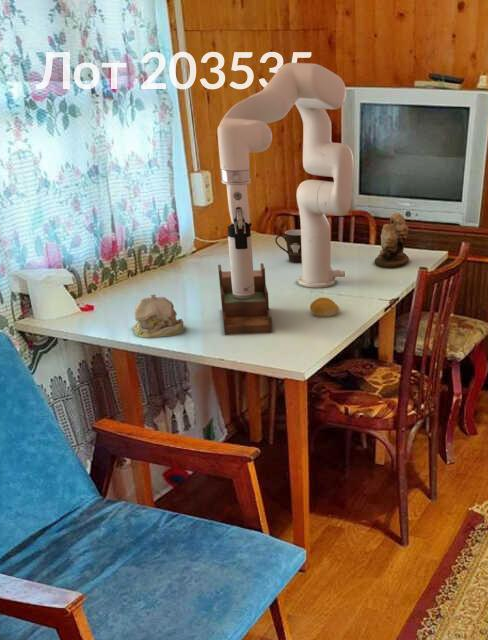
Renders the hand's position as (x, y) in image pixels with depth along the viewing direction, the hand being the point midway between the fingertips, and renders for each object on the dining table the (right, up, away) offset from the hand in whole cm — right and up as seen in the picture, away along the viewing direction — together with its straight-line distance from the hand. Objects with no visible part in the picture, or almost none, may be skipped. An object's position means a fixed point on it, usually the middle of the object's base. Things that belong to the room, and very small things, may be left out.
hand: (240, 244), depth 202 cm
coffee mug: (+8, +19, +68) cm, 71 cm away
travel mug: (0, -12, +8) cm, 15 cm away
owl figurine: (+44, +18, +68) cm, 83 cm away
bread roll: (+22, -14, +19) cm, 32 cm away
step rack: (0, -18, +11) cm, 21 cm away
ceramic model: (-23, -23, +3) cm, 33 cm away
